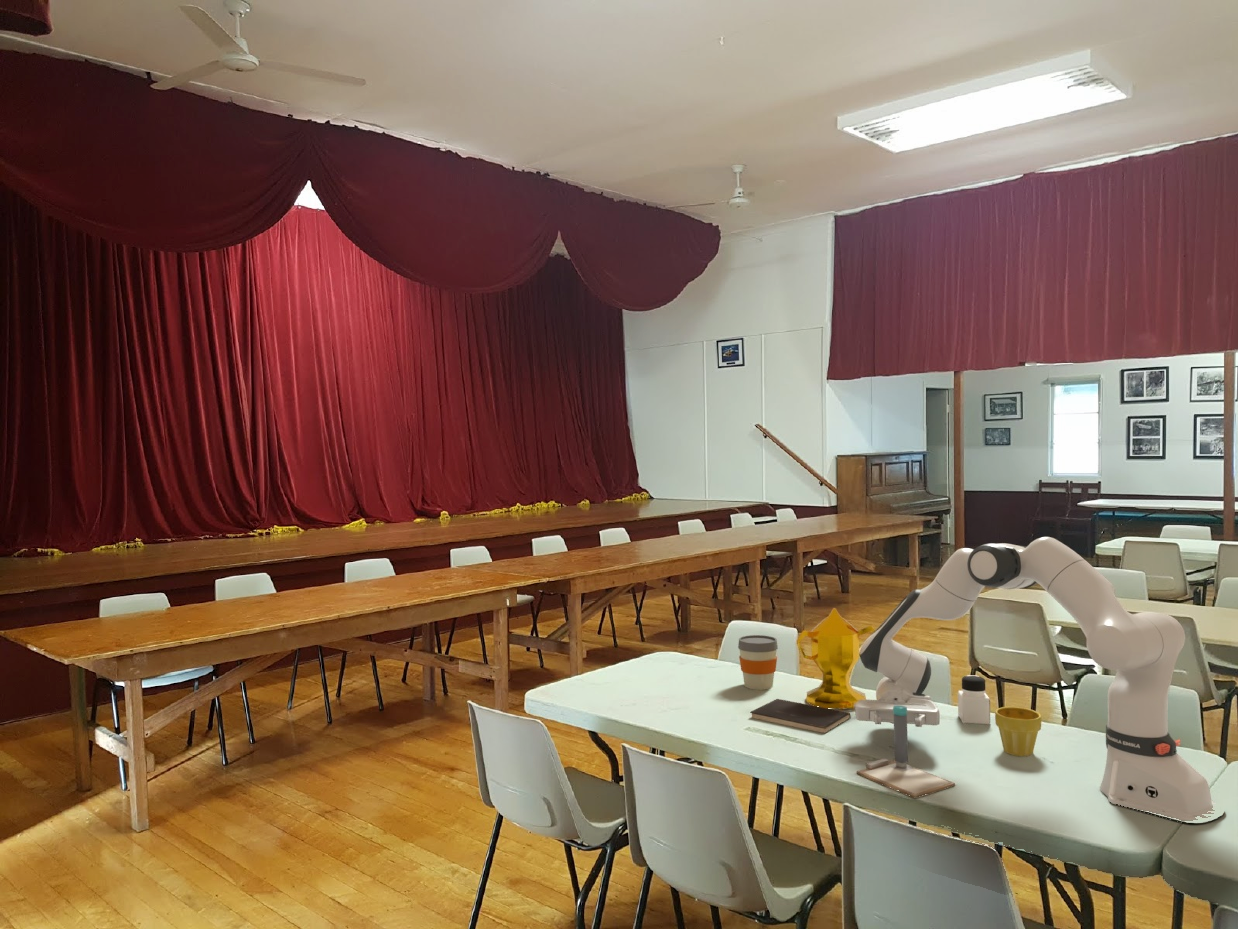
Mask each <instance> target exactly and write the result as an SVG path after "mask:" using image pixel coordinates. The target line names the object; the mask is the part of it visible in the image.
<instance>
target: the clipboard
mask: <svg viewBox="0 0 1238 929" xmlns="http://www.w3.org/2000/svg"><path fill="white" fill-rule="evenodd" d="M865 767H866V768H863V769H860V770H857V771H856V774H857V775H859V776H861V777H863V778H866V779H868V780H870V781H872V782H875V783H878V784H880V785H882V784H883V785H882V786H884V787H886V786H887V788H889V787H891V788H893V789H895V790H894V791H896V790H899V791H900V792H902V793H901V794H903V793H904V794H903V795H905V794H907V795H910V796H911V797H910V796H909V797H910V798H912V797H919V796H922V795H925V794H928V795H931V794H933V793H932V792H934V793H936V791H937V792H940V791H943V790H946V789H945V788H947V787H950V788H953V787H955V786H956V783H955V782H953V781H950V780H948V779H946V778H943V777H940V776H938V775H935V774H932V773H930V772H928V771H925V770H923V769H920V768H917V767H914V766H912V765H909V764H907V768H904V769H902V768H897V767H896V761H895V759H894V760H892V761H891V760H889V759H887V758H881V759H877V760H873V761H870V762H867V763H865ZM954 785H955V786H954ZM952 786H953V787H952ZM891 788H890V789H891ZM893 789H892V790H893ZM947 789H948V788H947ZM939 790H940V791H939ZM900 792H899V793H900ZM930 793H931V794H930ZM907 795H906V796H907ZM925 796H926V795H925ZM922 797H923V796H922ZM919 798H920V797H919Z"/></svg>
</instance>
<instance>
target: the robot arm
mask: <svg viewBox="0 0 1238 929" xmlns="http://www.w3.org/2000/svg"><path fill="white" fill-rule="evenodd" d="M1037 584H1038V585H1040V587H1042V588H1043V590H1044V591H1045V592H1047V593H1048V594H1049V595H1050V596H1051V597H1052V598H1053V599H1054V600H1055V601H1056V602H1057V603H1059V605H1060V606H1061V607H1062V608H1063V609H1064V610H1065V611H1066V612H1067V613H1068V614H1070V616H1071V617H1072V618H1073V619H1074V621H1075V622H1076V623H1077V625H1078V626H1079V628H1080V629H1081V631H1082V633H1083V634H1084V636H1085V638H1086V649H1087V652H1088V654H1089V656H1090V659H1091V660H1092V661H1094V663H1096V664H1097V665H1098V666H1100V667H1101V668H1103V669H1106V670H1110V671H1112V670H1113V671H1116V673H1115V676H1114V678H1113V681H1112V683H1111V684H1110V685H1109V687H1108V690H1107V724H1106V725H1105V746H1106V749H1107V750H1106V751H1107V752H1106V760H1105V767H1104V771H1103V772H1104V773H1103V777H1102V780H1101V783H1100V786H1099V790H1100V791H1101V792H1102V794H1104V795H1105V796H1106V797H1107V799H1108V802H1109V803H1110V802H1111V804H1113V805H1116V804H1118V805H1117V806H1120V805H1121V806H1120V807H1123V806H1124V807H1123V808H1127V807H1129V808H1128V809H1130V808H1135V809H1138V810H1143V811H1149V812H1152V813H1156V814H1161V815H1164V816H1167V817H1171V818H1176V819H1179V820H1181V821H1193V820H1198V819H1196V818H1195V817H1197V816H1200V817H1202V818H1208V817H1211V816H1208V817H1206V816H1204V815H1202V814H1214V813H1211V812H1208V811H1215V810H1213V809H1212V808H1213V804H1216V803H1213V801H1214V800H1212V795H1211V789H1210V785H1209V782H1208V780H1207V779H1206V778H1205V776H1204V775H1202V774H1201V773H1200V772H1199V771H1197V770H1196V769H1195V767H1193V766H1192V765H1191V764H1189V762H1187V761H1186V759H1184V758H1183V757H1182V756H1181V755H1180V754H1179V753H1178V751H1177V747H1179V746H1180V745H1182V744H1181V738H1180V739H1176V740H1174V739H1173V737H1171V734H1170V733H1169V731H1168V711H1169V710H1168V702H1169V701H1168V699H1169V693H1170V692H1169V691H1170V686H1171V682H1172V680H1173V674H1174V671H1175V668H1176V662H1177V660H1178V657H1179V655H1180V653H1181V651H1182V649H1183V647H1184V646H1185V642H1186V634H1185V633H1186V632H1185V629H1184V628H1183V626H1182V624H1181V623H1180V622H1179V620H1177V619H1176V618H1175V617H1174V616H1172V615H1169V614H1167V613H1163V612H1158V611H1142V612H1137V613H1130V612H1129V611H1127V609H1125V608H1124V606H1123V605H1122V603H1121V602H1120V601H1119V599H1118V598H1117V597H1116V595H1115V594H1116V593H1115V592H1116V590H1115V586H1114V585H1113V583H1112V582H1111V581H1110V580H1108V579H1107V577H1105V576H1104V575H1103V574H1102V573H1101V572H1099V571H1098V570H1097V569H1096V568H1095V567H1094V566H1092V564H1090V563H1089V562H1088V561H1087V560H1086V559H1084V558H1083V557H1082V556H1081V555H1080V554H1078V553H1077V552H1076V551H1075V550H1073V549H1072V548H1070V547H1069V546H1068V545H1066V544H1064V543H1063V542H1061V541H1059V540H1058V539H1057V538H1054V537H1050V536H1042V537H1039V538H1036V539H1034V540H1033V541H1031V542H1030V543H1029V544H1028V545H1027V546H1025V545H1016V544H1012V543H1005V542H1004V543H1003V542H1002V543H992V542H991V543H984V544H982V545H979V546H977V547H976V548H969V547H964V548H963V547H961V548H958V549H957V550H956V551H954V552H953V553H952V555H950V557H949V558H948V559H947V560H946V561H945V563H944V564H943V566H942V567H941V568H940V570H939V571H938V573H937V574H936V577H935V578H934V580H933V581H932V582H931V583H930V584H929V585H927V586H925V587H923V588H921V589H920V588H919V589H918V588H917V589H913V590H912V591H910V592H909V593H908V594H907V595H906V596H905V597H904V598H903V599H902V600H901V601H900V602H899V604H898V605H896V607H895V608H894V609H893V610H892V611H891V613H890V614H889V615H888V616H887V617H886V619H884V621H883V622H882V623H881V624H880V626H879V627H878V628H877V629H876V630H875V632H874V633H873V632H872V633H871V634H870V636H869V637H867V638H866V640H864V642H863V643H862V645H861V647H860V649H859V655H860V656H859V659H860V661H861V663H862V664H863V666H864V668H865V669H868V670H870V671H872V672H874V673H878V674H880V675H882V676H883V677H882V678H881V679H880V680H879V682H878V684H877V686H876V691H875V698H876V699H867V698H866V699H862V700H858V701H857V703H854V708H853V709H854V710H855V711H854V713H855V714H854V715H855V716H854V718H855V719H856V721H860V722H873V723H874V724H875V725H882V723H890V724H893V725H894V714H893V707H894V706H905V707H907V725H914V726H915V727H916V728H922V727H923V725H924V726H925V725H926V726H938V725H940V721H941V720H940V719H941V718H940V710H939V707H938V705H937V703H935V701H932V700H931V696H930V694H929V695H927V694H925V693H924V691H925V690H926V689H927V687H928V684H929V682H930V680H931V676H932V667H931V663H930V660H929V658H928V657H927V656H925V655H924V654H921V653H919V652H918V651H915V650H914V649H911V648H909V647H907V646H905V645H903V644H902V643H900V642H898V641H896V640H893V638H894V637H895V636H896V635H897V634H898V632H899V631H900V630H901V629H902V628H903V627H904V625H905V624H906V623H907V622H908V621H910V620H912V619H916V618H918V619H919V618H923V619H925V618H927V619H932V620H933V619H934V620H939V621H953V620H957V619H961V618H962V617H964V616H966V614H968V613H969V611H970V610H971V609H972V607H973V606H974V604H975V603H976V601H977V599H978V598H979V596H980V594H981V593H982V591H983V590H984V589H985V587H986V588H991V589H1003V590H1015V589H1016V590H1017V589H1028V588H1031V587H1033V586H1035V585H1037ZM1138 810H1137V811H1138ZM1207 812H1208V813H1207Z"/></svg>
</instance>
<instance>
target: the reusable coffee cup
mask: <svg viewBox="0 0 1238 929" xmlns="http://www.w3.org/2000/svg"><path fill="white" fill-rule="evenodd" d="M737 645H738V647H737V648H738V650H739V656H738V658H739V665H740V671H741V672H742V676H743V682H744V687H745V688H747V689H750V690H758V691H760V690H761V691H762V690H769V689H771V688H773V686H774V677H775V672H776V671H777V661H778V656H777V652H778V651H777V650H778V649H779V648H778V640H777V638H776V637H774V636H770V635H765V634H764V635H763V634H762V635H761V634H759V635H758V634H752V635H745V636H744V635H743V636H741V637H739V638H738V644H737Z"/></svg>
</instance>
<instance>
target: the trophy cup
mask: <svg viewBox="0 0 1238 929" xmlns="http://www.w3.org/2000/svg"><path fill="white" fill-rule="evenodd" d="M875 631H876V630H875V628H874V627H873V625H872V624H871V625H869V626H866V627H863V628H861V629H859V630H858V628H856V627H855V626H854V625H853V624H851V623H850V622H849V621H848V620H846V619H845V618H844V617H842V616H841V614H840V613H839V612H838V610H837V608H835V607H833V608H832V609H831V611H830V613H829V615H828V616H827V617H824V618H823V619H822V620H821V621H819V623H818V624H816V625H815V626H814V627H813V628H811V631H809V630H803V629H802V632H800V634H799V636H798V638H797V640H796V646H797V647H798V649H799V651H800V652H801V655H802V656H803V658H804V659H806V660H811V661H813V662H815V664H816V666H817V668H818V669H819V670H820V671H821V673H822V674H821V675H822V681H821V682H820V684H819V685H818V686H817V687H814V688H813V689H809V690H808V691H806V703H807V702H808V703H807V704H809V703H810V704H809V705H812V706H813V705H814V706H819V707H823V708H840V709H839V710H844V709H843V708H852V709H855V708H854V703H857V701H858V700H862V699H867V697H866V696H867V695H866V693H864V692H863V691H860V690H857V689H856V688H854V687H853V686H852V685H851V683H850V673H851V671H852V670H853V669H854V667H855V666H856V664H857V662H858V661H859V659H860V655H859V653H860V636H862V635H864V634H867V633H870V632H872V634H873V633H874V632H875ZM804 637H808V638H811V640H810V641H811V646H810V647H811V656H810V655H806V654H805V652H804V650H803V647H802V646H801V645H800V644H801V643H800V642H801V641H802V640H803V639H804Z"/></svg>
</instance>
